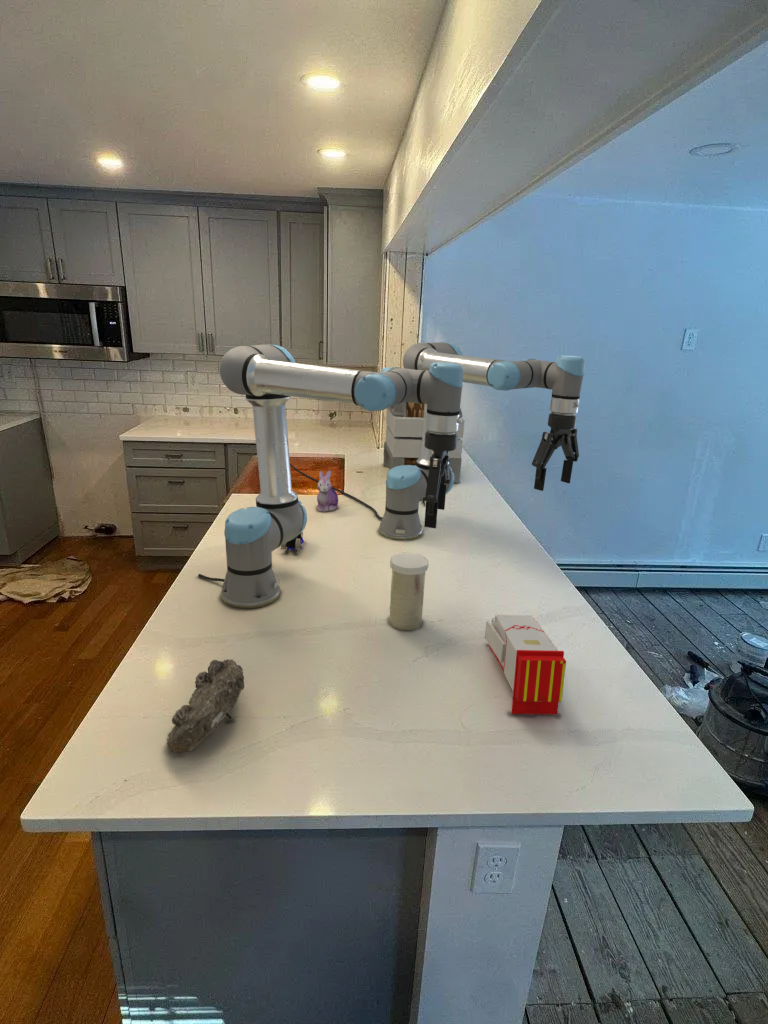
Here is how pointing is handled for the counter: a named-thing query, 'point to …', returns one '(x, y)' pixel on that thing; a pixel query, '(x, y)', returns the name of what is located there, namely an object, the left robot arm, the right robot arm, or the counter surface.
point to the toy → (527, 663)
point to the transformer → (413, 437)
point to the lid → (409, 563)
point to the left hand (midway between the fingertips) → (434, 517)
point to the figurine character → (294, 543)
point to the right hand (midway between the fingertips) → (552, 485)
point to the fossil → (206, 705)
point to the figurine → (326, 493)
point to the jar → (406, 600)
